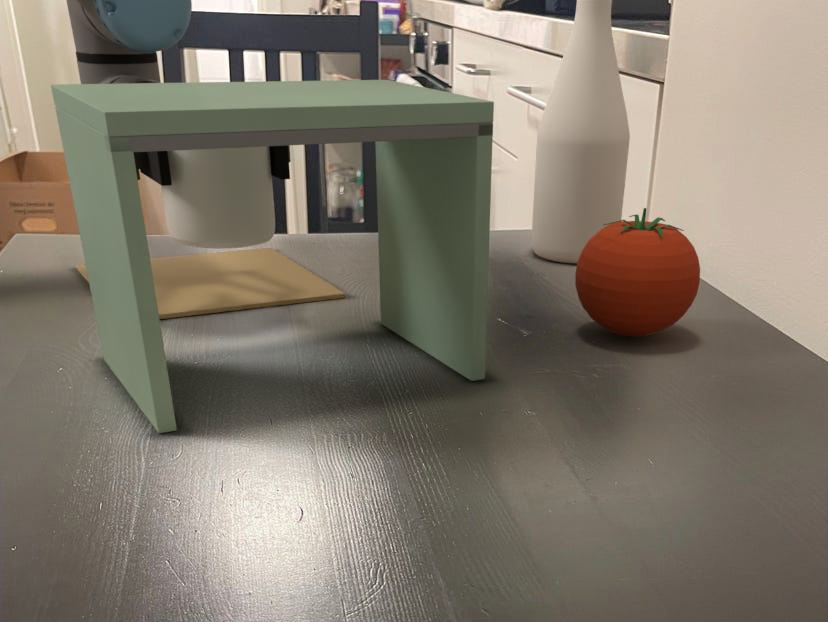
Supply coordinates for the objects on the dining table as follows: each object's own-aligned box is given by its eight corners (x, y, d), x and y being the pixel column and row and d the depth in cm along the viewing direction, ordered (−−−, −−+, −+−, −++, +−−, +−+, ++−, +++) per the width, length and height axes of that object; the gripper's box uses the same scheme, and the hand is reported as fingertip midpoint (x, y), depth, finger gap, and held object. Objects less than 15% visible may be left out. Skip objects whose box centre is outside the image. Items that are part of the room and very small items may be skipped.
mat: (124, 323, 81) (123, 318, 81) (76, 269, 95) (75, 265, 95) (345, 297, 89) (344, 293, 89) (271, 251, 104) (270, 247, 103)
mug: (261, 218, 86) (249, 79, 80) (285, 247, 77) (273, 93, 71) (161, 221, 84) (140, 78, 78) (173, 252, 74) (151, 93, 68)
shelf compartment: (158, 434, 62) (104, 111, 52) (104, 360, 73) (50, 84, 63) (485, 379, 72) (494, 101, 62) (393, 322, 83) (387, 79, 73)
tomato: (597, 357, 77) (610, 223, 71) (553, 320, 85) (562, 197, 79) (712, 349, 80) (734, 219, 74) (659, 314, 88) (674, 195, 82)
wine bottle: (543, 266, 101) (565, -92, 84) (521, 246, 109) (538, -86, 92) (629, 264, 103) (668, -86, 86) (602, 244, 111) (633, -81, 94)
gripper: (265, 166, 96) (357, 207, 80) (37, 176, 87) (89, 225, 71) (258, 79, 92) (353, 104, 76) (17, 80, 83) (68, 109, 67)
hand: (225, 162), depth 74 cm, fingers closed on mug, 9 cm apart
